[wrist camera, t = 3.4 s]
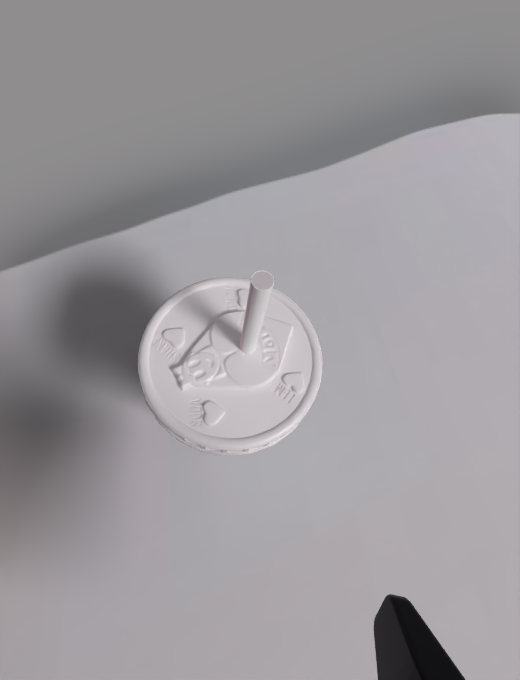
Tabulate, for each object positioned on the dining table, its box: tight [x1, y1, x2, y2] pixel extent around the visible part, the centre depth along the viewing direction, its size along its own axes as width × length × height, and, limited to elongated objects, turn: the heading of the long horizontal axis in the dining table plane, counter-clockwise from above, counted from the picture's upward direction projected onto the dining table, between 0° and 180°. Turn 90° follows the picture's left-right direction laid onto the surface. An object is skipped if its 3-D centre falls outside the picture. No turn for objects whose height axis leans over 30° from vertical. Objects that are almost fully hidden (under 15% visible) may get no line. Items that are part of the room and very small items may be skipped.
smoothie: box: [138, 271, 323, 456], centre depth 15 cm, size 6×6×14 cm
